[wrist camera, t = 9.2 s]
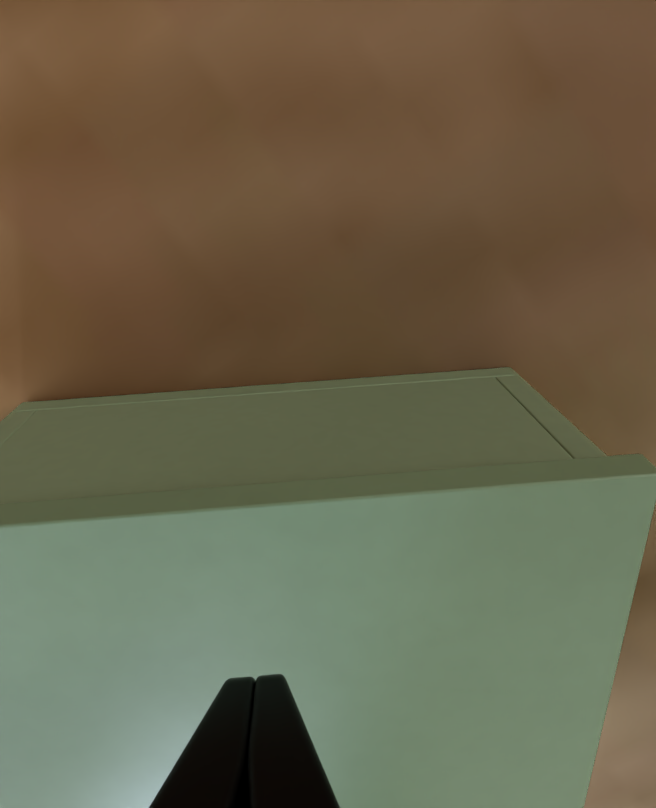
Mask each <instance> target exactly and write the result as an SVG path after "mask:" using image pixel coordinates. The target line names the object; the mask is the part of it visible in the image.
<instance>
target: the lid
mask: <svg viewBox="0 0 656 808" xmlns="http://www.w3.org/2000/svg"><path fill="white" fill-rule="evenodd" d="M655 503H656V467H655V466H654V465H653V464H652V463H650V462H649V461H648V460H647V459H646V458H645V457H644V456H643V455H642V454H628V455H615V456H602V457H589V458H577V459H564V460H551V461H538V462H525V463H513V464H500V465H487V466H474V467H462V468H449V469H436V470H423V471H410V472H398V473H385V474H372V475H359V476H347V477H334V478H321V479H308V480H295V481H283V482H270V483H257V484H244V485H232V486H219V487H206V488H193V489H180V490H168V491H155V492H142V493H129V494H116V495H104V496H91V497H78V498H65V499H53V500H40V501H27V502H14V503H1V504H0V808H149V806H150V805H151V803H152V802H153V800H154V798H155V797H156V795H157V793H158V792H159V790H160V788H161V787H162V785H163V783H164V782H165V780H166V778H167V777H168V775H169V773H170V772H171V770H172V768H173V767H174V765H175V763H176V762H177V760H178V758H179V757H180V755H181V753H182V752H183V750H184V749H185V747H186V745H187V744H188V742H189V740H190V739H191V737H192V735H193V734H194V732H195V730H196V729H197V727H198V725H199V724H200V722H201V720H202V719H203V717H204V715H205V714H206V712H207V710H208V709H209V707H210V705H211V704H212V702H213V700H214V699H215V697H216V695H217V694H218V692H219V691H220V689H221V687H222V686H223V684H224V683H225V681H226V680H228V679H229V678H237V677H249V676H251V677H253V678H254V679H255V680H256V678H257V677H258V676H261V675H271V674H282V675H284V677H285V678H286V680H287V683H288V685H289V687H290V690H291V692H292V695H293V697H294V699H295V702H296V704H297V706H298V709H299V711H300V714H301V716H302V718H303V721H304V723H305V725H306V728H307V730H308V733H309V735H310V737H311V740H312V742H313V744H314V747H315V749H316V752H317V754H318V756H319V759H320V761H321V763H322V766H323V768H324V771H325V773H326V775H327V778H328V780H329V782H330V785H331V787H332V790H333V792H334V794H335V797H336V799H337V801H338V804H339V806H340V808H584V804H585V800H586V795H587V791H588V787H589V783H590V778H591V774H592V770H593V766H594V761H595V757H596V753H597V749H598V745H599V740H600V736H601V732H602V728H603V723H604V719H605V715H606V711H607V706H608V702H609V698H610V694H611V689H612V685H613V681H614V677H615V672H616V668H617V664H618V660H619V655H620V651H621V647H622V643H623V638H624V634H625V630H626V626H627V622H628V617H629V613H630V609H631V605H632V600H633V596H634V592H635V588H636V583H637V579H638V575H639V571H640V566H641V562H642V558H643V554H644V549H645V545H646V541H647V537H648V532H649V528H650V524H651V520H652V515H653V511H654V507H655Z"/></svg>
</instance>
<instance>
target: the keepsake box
mask: <svg viewBox="0 0 656 808" xmlns="http://www.w3.org/2000/svg"><path fill="white" fill-rule="evenodd" d="M602 456H607V455H606V454H605V453H603V452H602V451H601V450H600V449H599V448H598V447H597V446H596V445H595V444H594V443H593V442H591V441H590V440H589V439H588V438H587V437H586V436H585V435H584V434H583V433H582V432H580V431H579V430H578V429H577V428H576V427H575V426H574V425H573V424H572V423H571V422H570V421H568V420H567V419H566V418H565V417H564V416H563V415H562V414H561V413H560V412H559V411H558V410H556V409H555V408H554V407H553V406H552V405H551V404H550V403H549V402H548V401H547V400H546V399H544V398H543V397H542V396H541V395H540V394H539V393H538V392H537V391H536V390H535V389H534V388H532V387H531V386H530V385H529V384H528V383H527V382H526V381H525V380H524V379H523V378H521V377H520V376H519V375H518V374H517V373H516V372H515V371H514V370H513V369H512V368H510V367H505V368H491V369H478V370H464V371H450V372H436V373H422V374H409V375H395V376H381V377H367V378H353V379H340V380H326V381H312V382H298V383H285V384H271V385H257V386H243V387H229V388H216V389H202V390H188V391H174V392H160V393H147V394H133V395H119V396H105V397H91V398H78V399H64V400H50V401H36V402H23V403H21V404H20V405H19V406H18V407H17V408H16V409H15V410H13V412H11V413H10V414H9V415H8V416H6V417H5V418H4V419H3V420H2V421H1V422H0V504H1V503H14V502H27V501H40V500H53V499H65V498H78V497H91V496H104V495H116V494H129V493H142V492H155V491H168V490H180V489H193V488H206V487H219V486H232V485H244V484H257V483H270V482H283V481H295V480H308V479H321V478H334V477H347V476H359V475H372V474H385V473H398V472H410V471H423V470H436V469H449V468H462V467H474V466H487V465H500V464H513V463H525V462H538V461H551V460H564V459H577V458H589V457H602Z"/></svg>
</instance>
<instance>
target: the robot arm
mask: <svg viewBox="0 0 656 808" xmlns="http://www.w3.org/2000/svg"><path fill="white" fill-rule="evenodd" d="M149 808H340V806H339V804H338V801H337V799H336V797H335V794H334V792H333V790H332V787H331V785H330V782H329V780H328V778H327V775H326V773H325V771H324V768H323V766H322V763H321V761H320V759H319V756H318V754H317V752H316V749H315V747H314V744H313V742H312V740H311V737H310V735H309V733H308V730H307V728H306V725H305V723H304V721H303V718H302V716H301V714H300V711H299V709H298V706H297V704H296V702H295V699H294V697H293V695H292V692H291V690H290V687H289V685H288V683H287V680H286V678H285V677H284V675H282V674H271V675H261V676H258V677H257V678H256V680H255V679H254V678H253V677H251V676H249V677H237V678H229V679H228V680H226V681H225V683H224V684H223V686H222V687H221V689H220V691H219V692H218V694H217V695H216V697H215V699H214V700H213V702H212V704H211V705H210V707H209V709H208V710H207V712H206V714H205V715H204V717H203V719H202V720H201V722H200V724H199V725H198V727H197V729H196V730H195V732H194V734H193V735H192V737H191V739H190V740H189V742H188V744H187V745H186V747H185V749H184V750H183V752H182V753H181V755H180V757H179V758H178V760H177V762H176V763H175V765H174V767H173V768H172V770H171V772H170V773H169V775H168V777H167V778H166V780H165V782H164V783H163V785H162V787H161V788H160V790H159V792H158V793H157V795H156V797H155V798H154V800H153V802H152V803H151V805H150V806H149Z"/></svg>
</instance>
